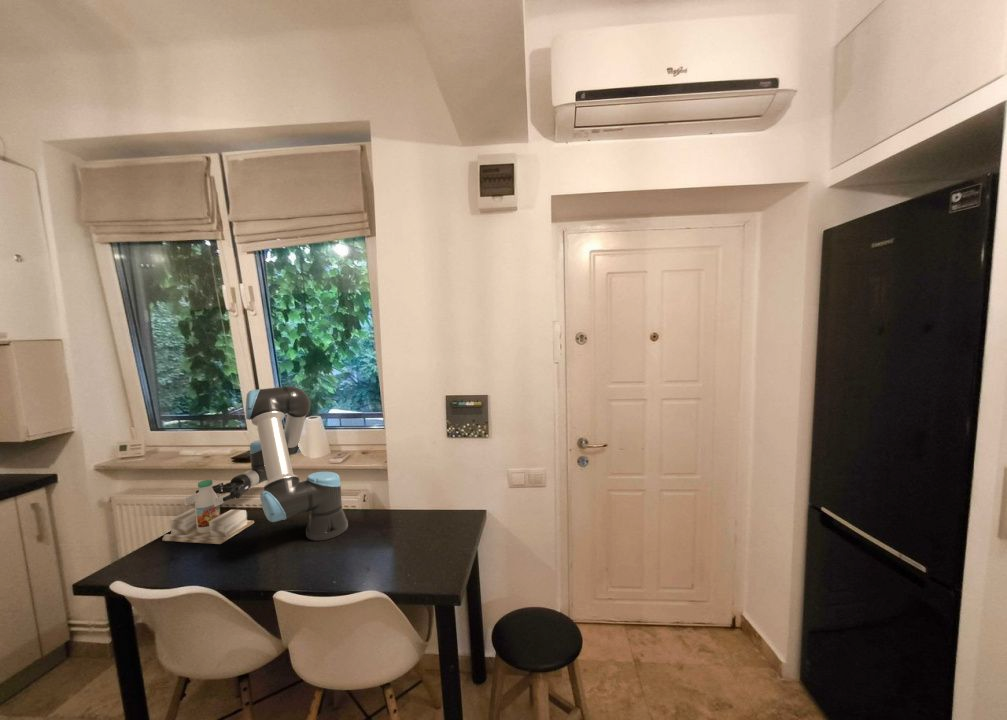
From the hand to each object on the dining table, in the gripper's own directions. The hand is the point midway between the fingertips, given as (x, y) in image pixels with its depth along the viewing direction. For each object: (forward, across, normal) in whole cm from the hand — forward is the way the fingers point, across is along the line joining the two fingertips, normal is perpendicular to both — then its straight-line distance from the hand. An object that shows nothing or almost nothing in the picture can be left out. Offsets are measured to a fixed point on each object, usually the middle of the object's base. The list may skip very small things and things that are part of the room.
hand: (199, 502), depth 148 cm
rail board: (-3, 0, -14) cm, 14 cm away
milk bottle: (-3, 0, -13) cm, 13 cm away
